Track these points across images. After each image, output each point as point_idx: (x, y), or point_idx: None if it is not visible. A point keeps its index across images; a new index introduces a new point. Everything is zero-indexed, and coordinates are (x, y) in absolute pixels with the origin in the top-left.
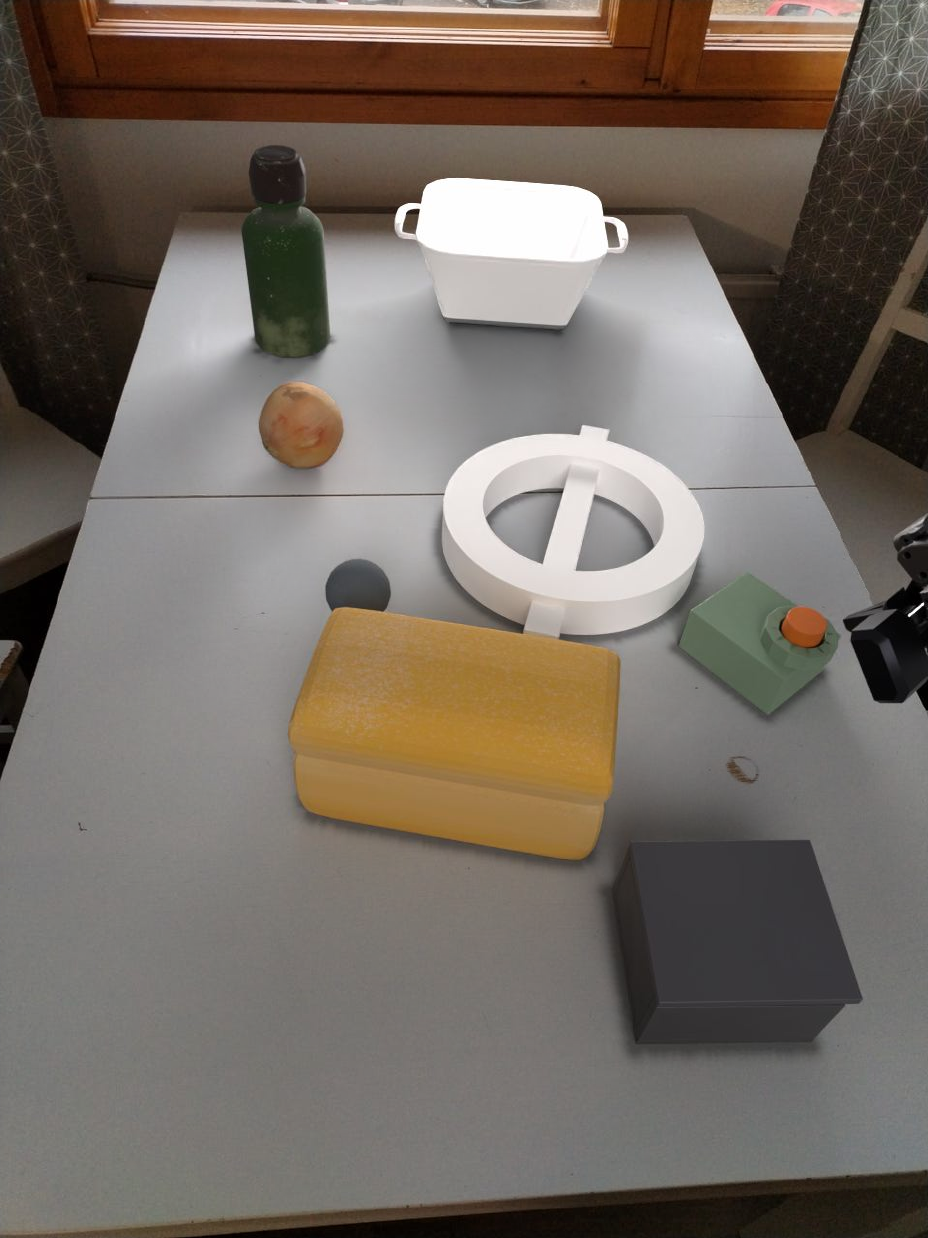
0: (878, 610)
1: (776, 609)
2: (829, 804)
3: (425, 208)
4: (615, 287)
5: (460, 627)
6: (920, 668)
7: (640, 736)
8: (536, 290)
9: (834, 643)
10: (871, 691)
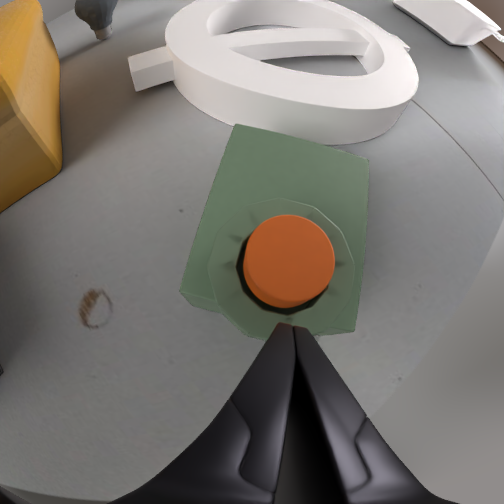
0: (240, 444)
1: (305, 205)
2: (111, 415)
3: None
4: (492, 70)
5: (3, 16)
6: None
7: (85, 196)
8: (440, 10)
9: None
10: None
